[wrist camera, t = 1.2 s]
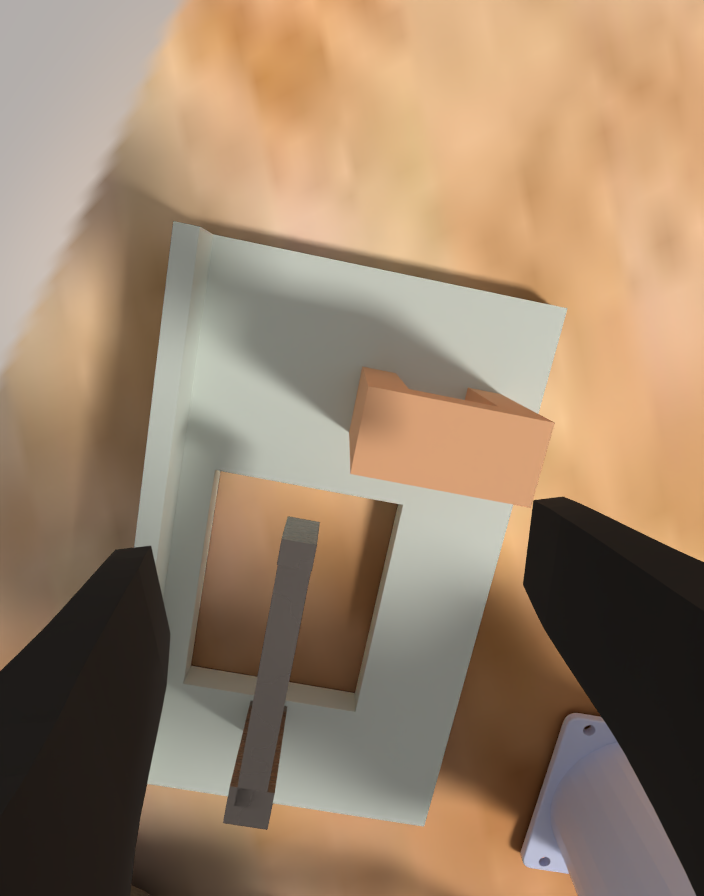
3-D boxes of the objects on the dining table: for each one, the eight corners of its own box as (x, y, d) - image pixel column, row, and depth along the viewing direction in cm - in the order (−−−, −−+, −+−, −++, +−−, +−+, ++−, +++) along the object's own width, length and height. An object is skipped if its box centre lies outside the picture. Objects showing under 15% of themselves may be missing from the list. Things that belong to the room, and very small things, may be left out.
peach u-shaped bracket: (500, 393, 20) (554, 422, 15) (483, 458, 21) (530, 507, 16) (362, 366, 20) (368, 385, 15) (348, 432, 21) (350, 474, 15)
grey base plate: (555, 308, 21) (589, 308, 18) (420, 803, 26) (430, 865, 23) (198, 233, 20) (173, 220, 17) (130, 757, 25) (101, 816, 22)
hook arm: (331, 482, 22) (325, 546, 16) (284, 717, 25) (264, 851, 19) (292, 474, 22) (272, 537, 16) (249, 711, 25) (218, 844, 19)
